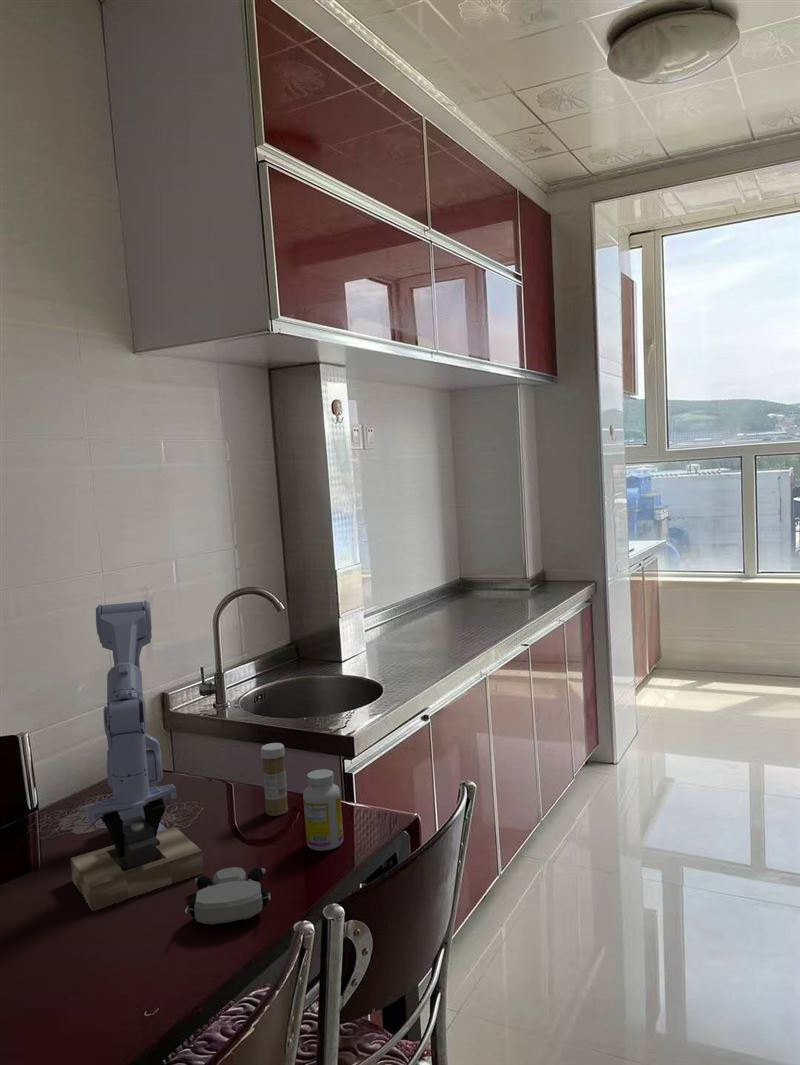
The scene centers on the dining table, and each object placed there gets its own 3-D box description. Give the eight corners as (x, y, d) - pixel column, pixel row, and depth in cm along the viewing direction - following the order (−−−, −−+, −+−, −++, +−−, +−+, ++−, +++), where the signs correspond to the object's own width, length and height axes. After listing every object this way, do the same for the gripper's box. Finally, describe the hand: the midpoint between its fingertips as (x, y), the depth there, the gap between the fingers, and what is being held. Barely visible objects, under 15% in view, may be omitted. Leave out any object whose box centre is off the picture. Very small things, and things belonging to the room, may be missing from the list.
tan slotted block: (72, 880, 133) (70, 858, 132) (176, 847, 143) (174, 826, 143) (92, 911, 122) (90, 887, 122) (203, 873, 133) (201, 850, 132)
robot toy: (192, 896, 127) (185, 940, 112) (190, 868, 127) (183, 908, 112) (269, 884, 129) (272, 926, 115) (267, 857, 129) (270, 894, 115)
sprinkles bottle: (281, 805, 160) (276, 740, 159) (292, 812, 156) (288, 745, 155) (261, 812, 157) (256, 746, 156) (272, 819, 153) (268, 751, 153)
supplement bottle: (332, 832, 146) (328, 764, 145) (350, 844, 140) (346, 773, 139) (300, 843, 142) (295, 773, 141) (317, 856, 136) (312, 783, 136)
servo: (113, 852, 136) (109, 813, 136) (139, 844, 139) (136, 806, 138) (134, 877, 126) (131, 836, 126) (162, 868, 129) (158, 828, 128)
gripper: (90, 789, 124) (97, 873, 125) (180, 766, 133) (186, 844, 133) (79, 777, 130) (86, 857, 131) (166, 756, 138) (171, 831, 139)
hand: (135, 850), depth 132 cm, fingers closed on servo, 4 cm apart
